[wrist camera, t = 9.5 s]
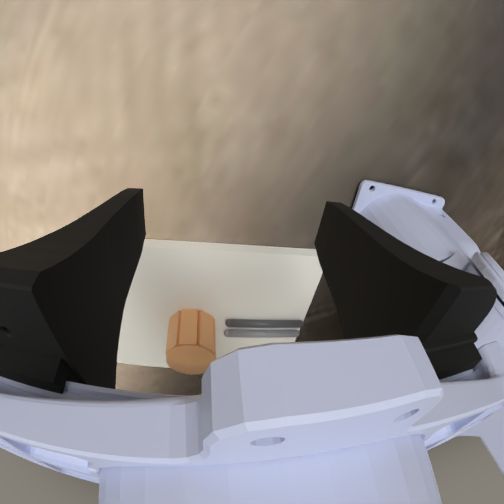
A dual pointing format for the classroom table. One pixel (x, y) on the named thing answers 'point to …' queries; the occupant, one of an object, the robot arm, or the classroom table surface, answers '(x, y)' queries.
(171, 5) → the classroom table surface
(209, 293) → the plate
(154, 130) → the classroom table surface
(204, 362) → the wire nut
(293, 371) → the robot arm
